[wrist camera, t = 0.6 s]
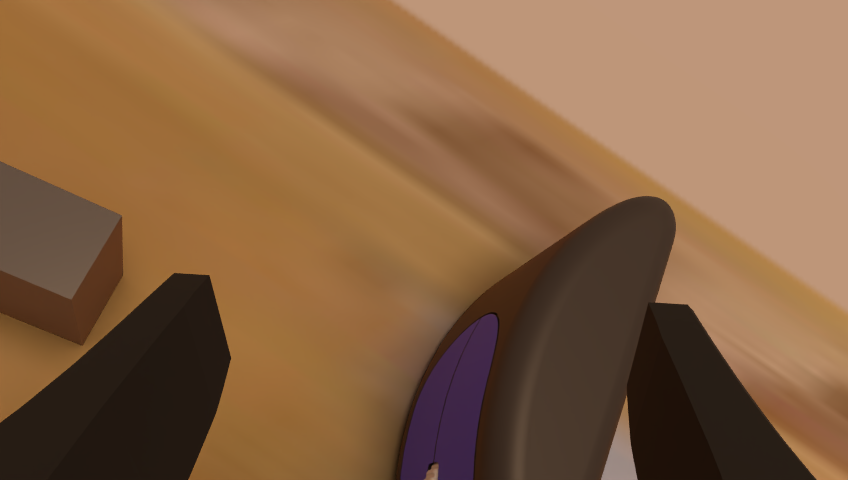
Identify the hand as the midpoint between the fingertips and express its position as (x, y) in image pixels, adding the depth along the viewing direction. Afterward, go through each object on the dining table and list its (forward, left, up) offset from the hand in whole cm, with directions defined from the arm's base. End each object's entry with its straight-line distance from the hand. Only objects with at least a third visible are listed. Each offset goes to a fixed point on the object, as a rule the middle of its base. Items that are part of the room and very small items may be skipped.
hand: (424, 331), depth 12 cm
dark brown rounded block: (+4, -9, -18) cm, 20 cm away
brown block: (+2, +11, -18) cm, 21 cm away
